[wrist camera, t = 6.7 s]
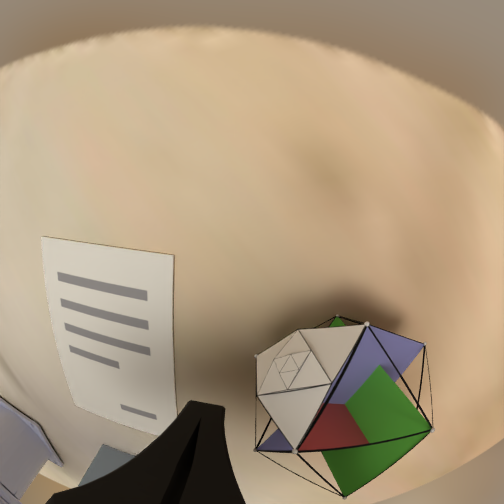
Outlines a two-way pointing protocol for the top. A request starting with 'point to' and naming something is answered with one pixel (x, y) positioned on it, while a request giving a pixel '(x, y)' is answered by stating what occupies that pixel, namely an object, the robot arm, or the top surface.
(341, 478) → the geometric puzzle
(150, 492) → the robot arm
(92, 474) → the slate cube
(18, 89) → the top surface
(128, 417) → the letter
